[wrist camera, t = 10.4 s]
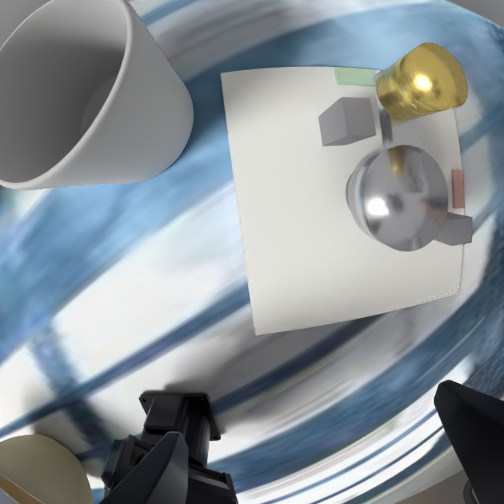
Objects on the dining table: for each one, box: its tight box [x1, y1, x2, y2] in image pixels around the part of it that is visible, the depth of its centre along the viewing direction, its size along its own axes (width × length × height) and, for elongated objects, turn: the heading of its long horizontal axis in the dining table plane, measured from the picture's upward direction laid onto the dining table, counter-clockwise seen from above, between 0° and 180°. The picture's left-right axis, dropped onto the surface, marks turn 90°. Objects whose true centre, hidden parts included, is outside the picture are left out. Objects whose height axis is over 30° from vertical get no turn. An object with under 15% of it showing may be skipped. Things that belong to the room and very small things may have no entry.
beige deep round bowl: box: [0, 434, 94, 504], centre depth 20 cm, size 18×18×12 cm
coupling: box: [348, 43, 468, 252], centre depth 11 cm, size 10×6×6 cm, turn 5°
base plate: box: [220, 67, 472, 335], centre depth 16 cm, size 18×18×5 cm
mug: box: [0, 0, 194, 190], centre depth 11 cm, size 12×8×11 cm
